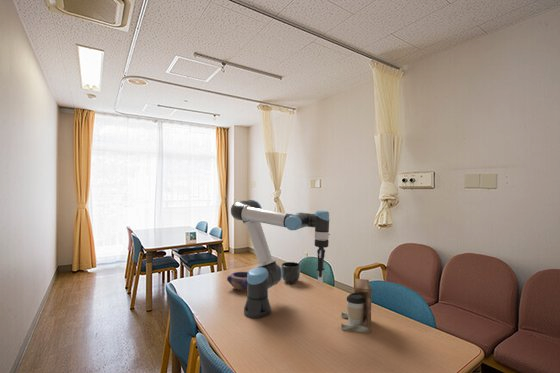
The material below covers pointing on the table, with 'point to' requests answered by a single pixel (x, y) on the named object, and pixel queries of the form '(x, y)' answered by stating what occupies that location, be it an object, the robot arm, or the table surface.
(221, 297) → the table surface
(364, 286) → the wooden bookend
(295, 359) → the table surface
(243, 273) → the bowl
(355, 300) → the coffee cup
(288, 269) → the planter
